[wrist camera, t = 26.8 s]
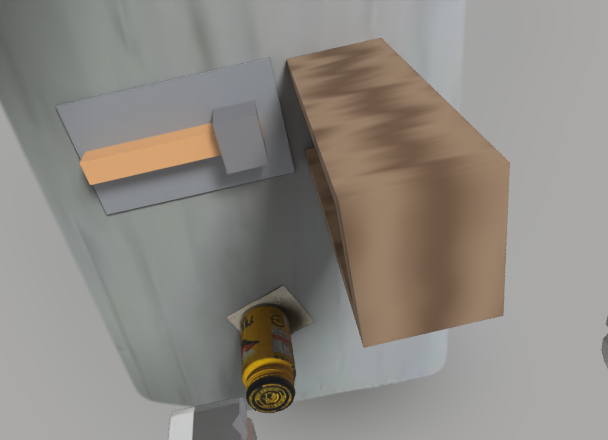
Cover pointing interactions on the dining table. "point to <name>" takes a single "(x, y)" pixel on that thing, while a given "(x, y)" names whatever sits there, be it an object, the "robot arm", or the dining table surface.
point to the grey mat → (173, 117)
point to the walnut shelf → (403, 193)
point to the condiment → (269, 348)
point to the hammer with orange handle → (186, 147)
